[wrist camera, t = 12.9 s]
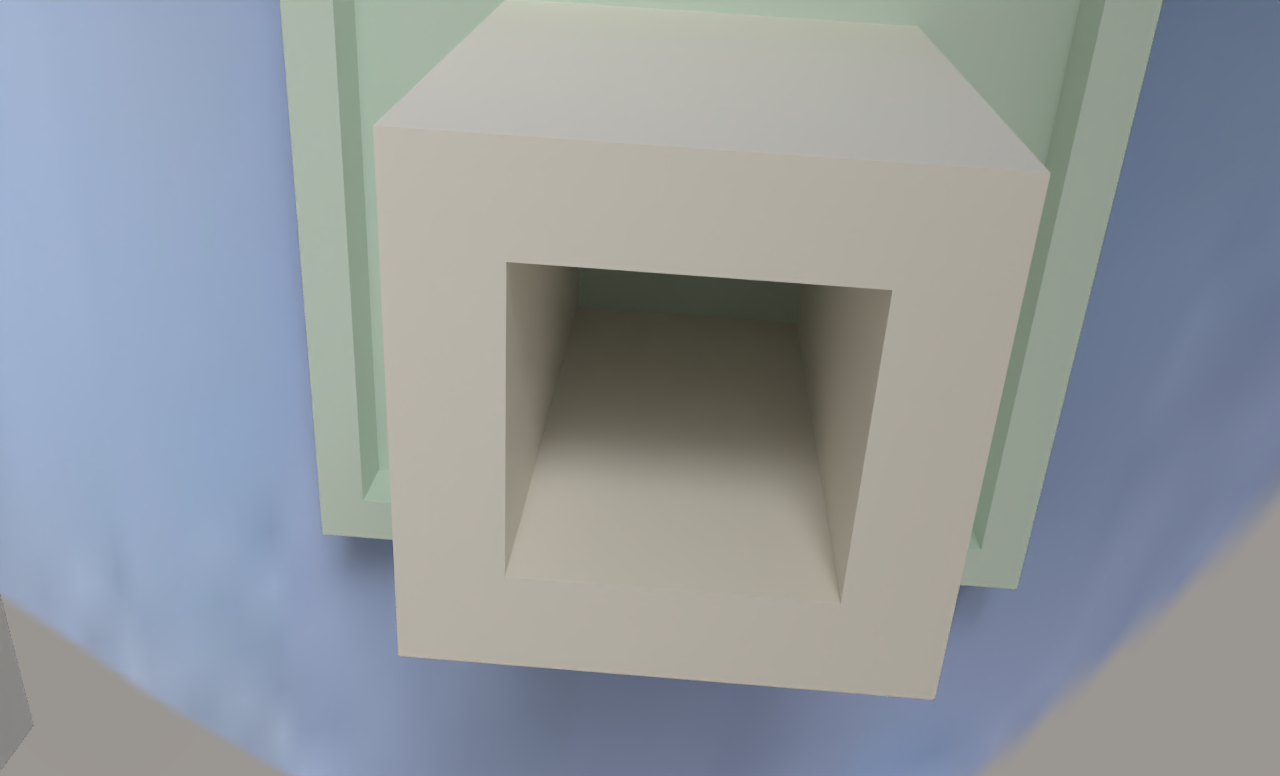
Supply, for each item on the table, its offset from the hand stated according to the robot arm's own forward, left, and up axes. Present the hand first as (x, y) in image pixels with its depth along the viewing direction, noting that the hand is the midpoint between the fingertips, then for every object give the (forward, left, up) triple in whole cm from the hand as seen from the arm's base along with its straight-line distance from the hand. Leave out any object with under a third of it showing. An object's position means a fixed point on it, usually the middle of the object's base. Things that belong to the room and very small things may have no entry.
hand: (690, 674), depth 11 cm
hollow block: (0, 0, -15) cm, 15 cm away
